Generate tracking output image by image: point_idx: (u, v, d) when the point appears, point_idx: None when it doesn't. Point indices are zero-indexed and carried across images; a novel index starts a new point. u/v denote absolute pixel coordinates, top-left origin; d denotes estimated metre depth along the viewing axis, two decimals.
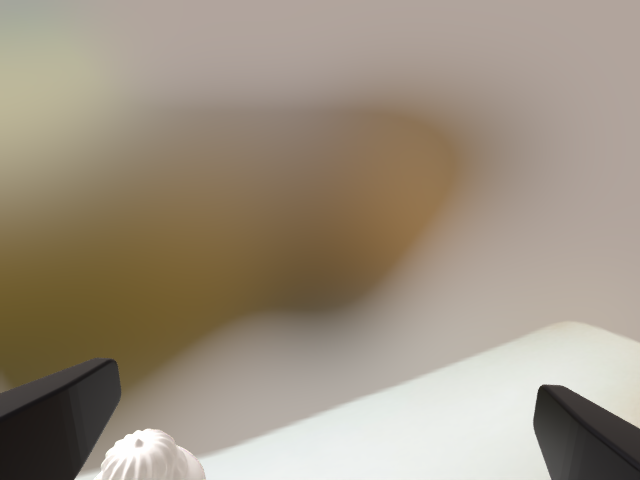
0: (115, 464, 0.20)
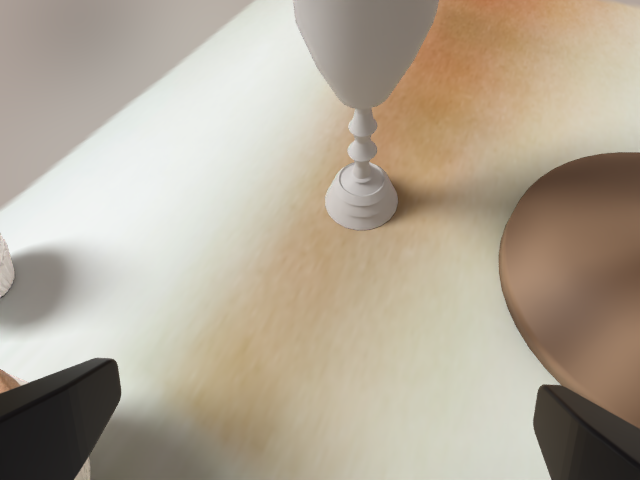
0: None
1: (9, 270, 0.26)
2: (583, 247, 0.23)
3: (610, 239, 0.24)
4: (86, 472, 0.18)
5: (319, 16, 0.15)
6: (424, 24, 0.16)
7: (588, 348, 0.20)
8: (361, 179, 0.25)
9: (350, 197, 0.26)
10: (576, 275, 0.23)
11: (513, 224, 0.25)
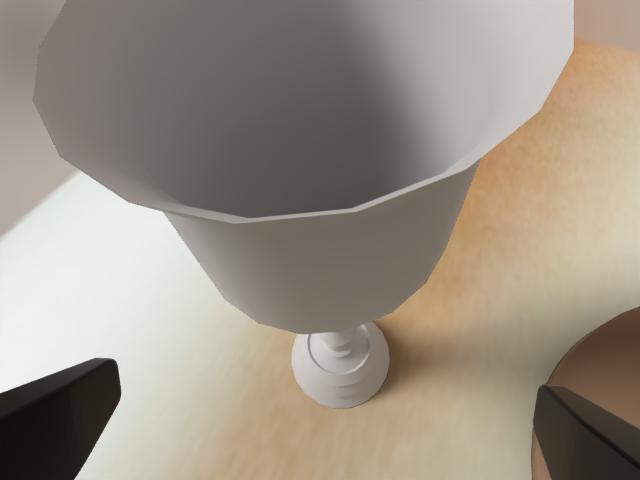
0: None
1: None
2: None
3: None
4: None
5: (221, 283, 0.07)
6: (430, 269, 0.08)
7: None
8: (337, 352, 0.18)
9: (322, 374, 0.18)
10: None
11: None
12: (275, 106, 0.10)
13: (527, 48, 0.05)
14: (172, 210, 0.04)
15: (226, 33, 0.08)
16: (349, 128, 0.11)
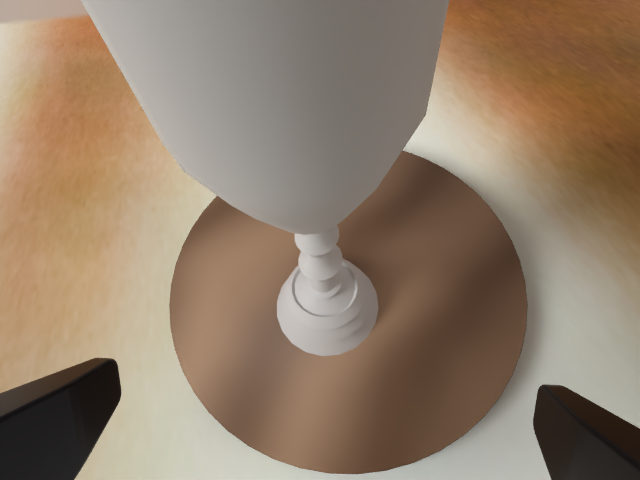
0: None
1: None
2: (249, 289, 0.21)
3: (272, 266, 0.21)
4: None
5: (173, 131, 0.07)
6: (408, 128, 0.07)
7: (277, 410, 0.18)
8: (322, 293, 0.17)
9: (308, 318, 0.18)
10: (249, 327, 0.20)
11: (173, 299, 0.21)
12: None
13: None
14: None
15: None
16: None
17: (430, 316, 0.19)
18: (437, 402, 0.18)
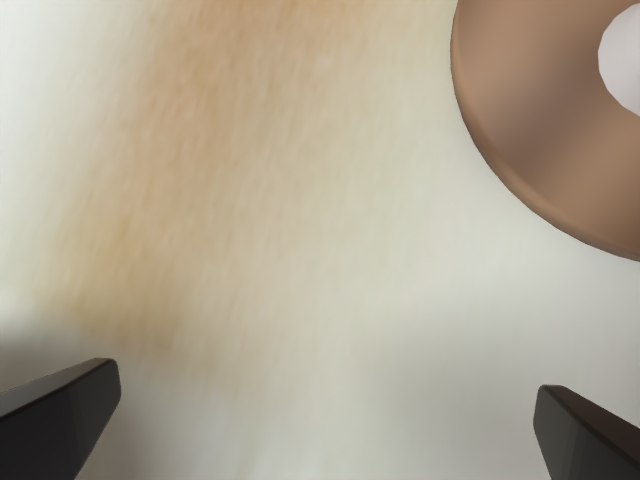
0: None
1: None
2: (571, 7, 0.16)
3: None
4: None
5: None
6: None
7: (567, 156, 0.15)
8: None
9: None
10: (557, 53, 0.16)
11: None
12: None
13: None
14: None
15: None
16: None
17: None
18: None
